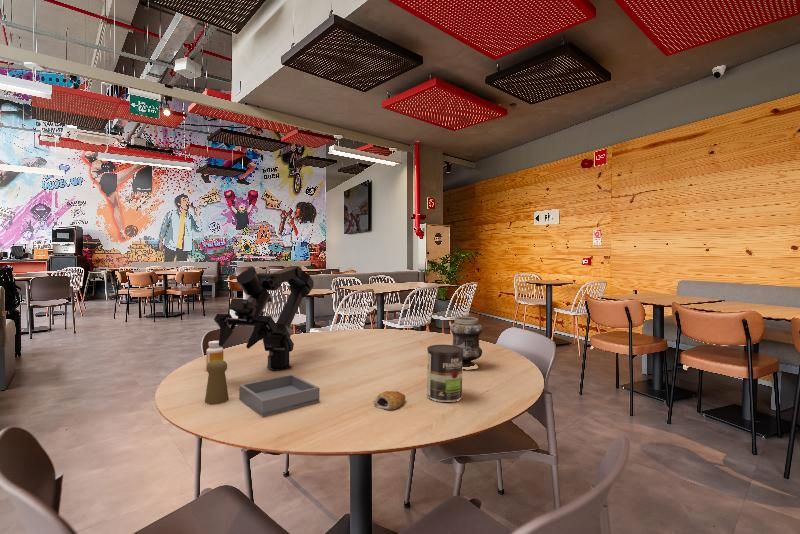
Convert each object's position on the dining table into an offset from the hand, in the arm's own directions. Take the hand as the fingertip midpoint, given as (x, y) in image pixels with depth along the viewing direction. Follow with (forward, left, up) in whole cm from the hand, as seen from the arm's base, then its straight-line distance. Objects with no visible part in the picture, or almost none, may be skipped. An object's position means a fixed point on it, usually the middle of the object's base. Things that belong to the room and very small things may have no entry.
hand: (233, 346), depth 118 cm
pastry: (-29, +37, -14) cm, 49 cm away
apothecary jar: (-74, +26, -13) cm, 80 cm away
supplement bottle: (-3, -27, -13) cm, 30 cm away
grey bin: (-7, +15, -13) cm, 21 cm away
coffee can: (-45, +42, -13) cm, 63 cm away
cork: (+6, +4, -13) cm, 15 cm away
